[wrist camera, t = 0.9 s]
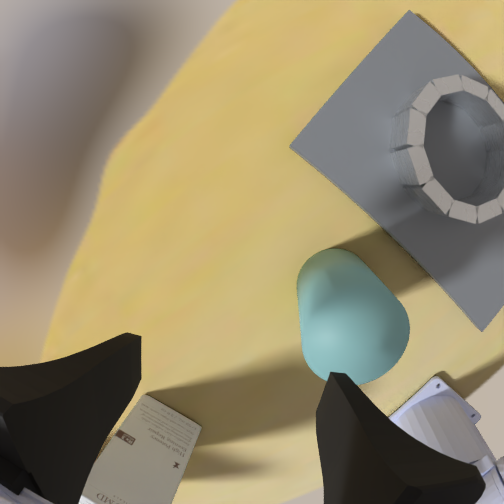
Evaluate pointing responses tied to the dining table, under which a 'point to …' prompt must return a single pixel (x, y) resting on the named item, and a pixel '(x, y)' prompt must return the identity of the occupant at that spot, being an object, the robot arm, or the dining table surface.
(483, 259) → the board
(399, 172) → the grey segmented ring
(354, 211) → the dining table surface
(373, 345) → the plug
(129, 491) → the skincare box
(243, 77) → the dining table surface
